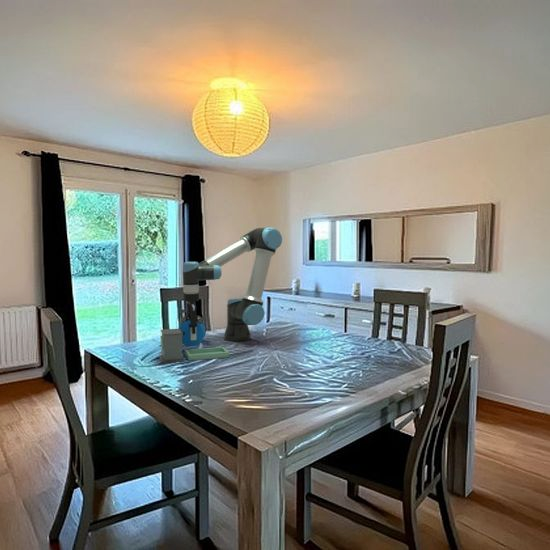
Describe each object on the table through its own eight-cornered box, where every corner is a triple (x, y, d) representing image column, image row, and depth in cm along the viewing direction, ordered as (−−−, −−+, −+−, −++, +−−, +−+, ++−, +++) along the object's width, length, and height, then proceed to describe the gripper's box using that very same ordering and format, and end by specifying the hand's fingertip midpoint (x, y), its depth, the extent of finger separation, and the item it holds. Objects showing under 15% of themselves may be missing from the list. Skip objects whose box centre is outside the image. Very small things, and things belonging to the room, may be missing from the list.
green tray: (223, 351, 205) (223, 347, 205) (229, 357, 194) (229, 352, 194) (184, 354, 198) (184, 349, 198) (188, 360, 188) (188, 355, 187)
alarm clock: (206, 344, 208) (205, 314, 207) (204, 347, 202) (203, 317, 201) (180, 344, 208) (179, 314, 207) (177, 347, 202) (176, 317, 201)
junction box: (180, 354, 197) (180, 328, 197) (184, 361, 186) (184, 333, 185) (159, 356, 194) (159, 329, 193) (161, 363, 183) (161, 334, 182)
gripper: (180, 290, 211) (181, 334, 213) (186, 295, 192) (187, 343, 194) (194, 290, 214) (195, 333, 216) (202, 295, 195) (203, 342, 197)
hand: (192, 338), depth 205 cm, fingers closed on alarm clock, 8 cm apart
